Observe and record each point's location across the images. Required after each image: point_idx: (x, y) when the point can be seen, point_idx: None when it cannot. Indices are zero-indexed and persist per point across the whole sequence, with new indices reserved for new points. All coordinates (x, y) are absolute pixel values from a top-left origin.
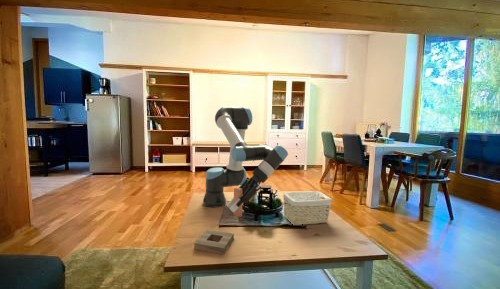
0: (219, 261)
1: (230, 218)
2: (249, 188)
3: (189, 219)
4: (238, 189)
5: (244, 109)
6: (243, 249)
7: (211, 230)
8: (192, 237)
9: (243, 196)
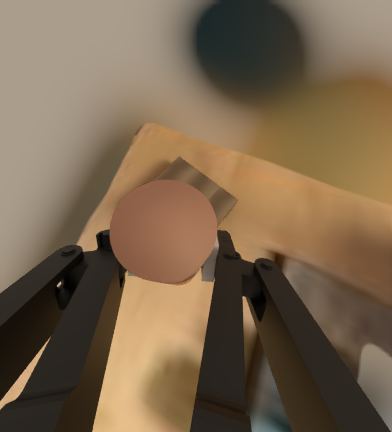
0: (109, 196)
1: (328, 310)
2: (26, 389)
3: (335, 191)
4: (146, 222)
5: None
6: None
7: (227, 208)
8: (233, 175)
9: (90, 264)
